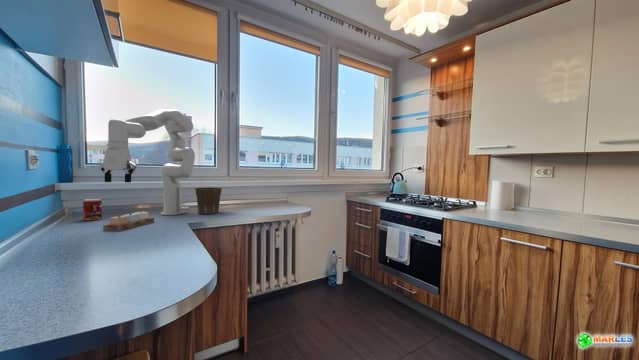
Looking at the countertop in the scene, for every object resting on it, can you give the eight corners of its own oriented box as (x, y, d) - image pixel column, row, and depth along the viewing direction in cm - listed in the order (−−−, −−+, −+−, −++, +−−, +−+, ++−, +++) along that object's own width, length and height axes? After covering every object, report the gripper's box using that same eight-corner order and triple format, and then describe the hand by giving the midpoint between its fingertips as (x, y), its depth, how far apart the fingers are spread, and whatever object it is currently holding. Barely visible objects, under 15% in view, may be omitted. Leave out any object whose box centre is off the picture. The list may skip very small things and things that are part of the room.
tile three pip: (118, 223, 122) (118, 215, 122) (127, 223, 122) (127, 215, 122) (110, 225, 118) (109, 217, 118) (119, 225, 117) (119, 217, 117)
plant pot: (222, 210, 177) (222, 187, 176) (222, 214, 161) (222, 188, 161) (196, 211, 171) (196, 187, 170) (193, 215, 156) (193, 189, 155)
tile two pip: (130, 220, 129) (130, 213, 129) (138, 221, 128) (138, 213, 128) (122, 222, 124) (122, 214, 124) (130, 223, 124) (130, 214, 124)
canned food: (85, 221, 136) (85, 200, 136) (81, 219, 141) (81, 199, 140) (104, 219, 142) (103, 199, 142) (99, 217, 147) (99, 198, 147)
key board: (139, 221, 137) (139, 217, 137) (153, 222, 136) (153, 217, 136) (103, 230, 117) (103, 225, 117) (120, 231, 116) (120, 225, 116)
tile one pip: (140, 218, 135) (140, 211, 135) (148, 218, 135) (148, 211, 135) (133, 220, 131) (132, 212, 130) (141, 220, 130) (141, 212, 130)
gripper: (93, 145, 119) (93, 182, 119) (130, 145, 119) (129, 182, 119) (107, 147, 126) (106, 181, 127) (141, 147, 126) (141, 182, 126)
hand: (117, 182), depth 123 cm, fingers open, 9 cm apart
